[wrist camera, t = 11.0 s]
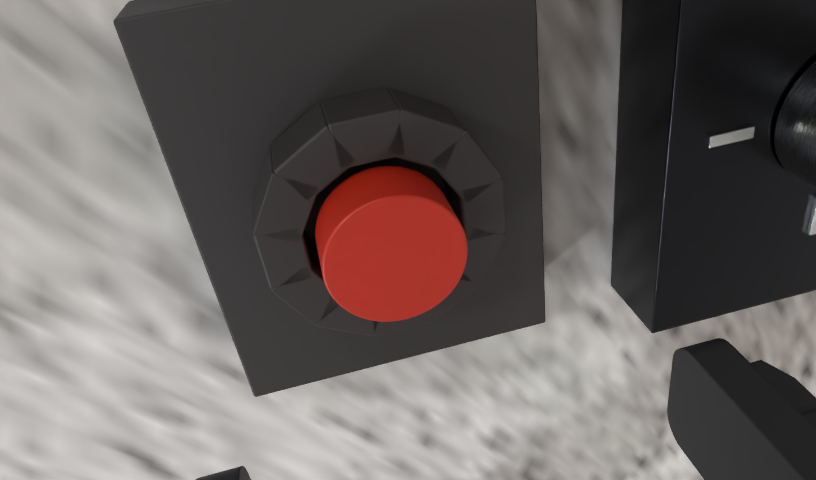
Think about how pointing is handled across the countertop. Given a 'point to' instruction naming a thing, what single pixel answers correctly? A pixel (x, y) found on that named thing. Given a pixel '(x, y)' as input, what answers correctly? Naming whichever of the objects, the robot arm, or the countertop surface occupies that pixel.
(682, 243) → the hob panel
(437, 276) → the button
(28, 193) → the countertop surface
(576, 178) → the countertop surface
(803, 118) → the hob knob
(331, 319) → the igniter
